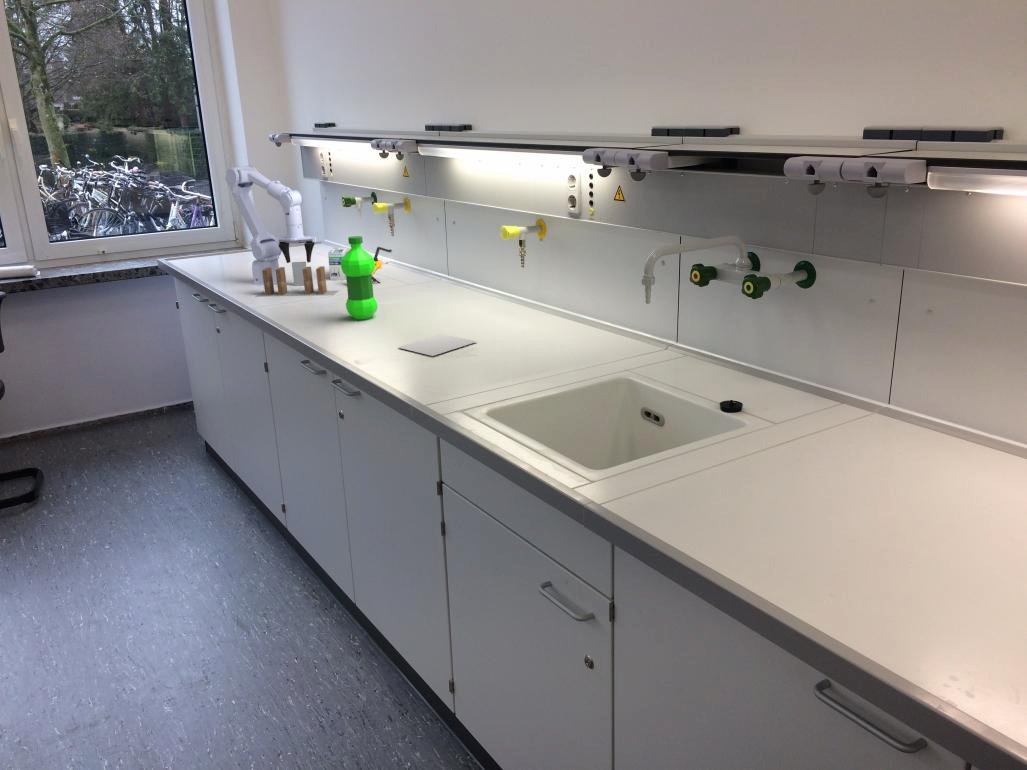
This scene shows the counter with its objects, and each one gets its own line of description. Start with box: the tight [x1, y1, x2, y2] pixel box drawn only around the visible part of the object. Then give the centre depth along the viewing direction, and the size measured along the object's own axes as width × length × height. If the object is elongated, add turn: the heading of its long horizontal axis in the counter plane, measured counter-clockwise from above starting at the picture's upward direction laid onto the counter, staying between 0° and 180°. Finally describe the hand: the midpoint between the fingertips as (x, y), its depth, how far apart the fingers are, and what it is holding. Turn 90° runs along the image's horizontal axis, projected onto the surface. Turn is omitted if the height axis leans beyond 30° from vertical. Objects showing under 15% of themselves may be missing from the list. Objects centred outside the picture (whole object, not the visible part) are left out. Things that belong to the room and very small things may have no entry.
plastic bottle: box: [341, 235, 378, 321], centre depth 258 cm, size 10×10×25 cm
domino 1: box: [262, 268, 275, 297], centre depth 297 cm, size 2×5×9 cm, turn 176°
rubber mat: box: [255, 290, 340, 298], centre depth 298 cm, size 28×8×1 cm, turn 86°
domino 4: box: [315, 265, 328, 296], centre depth 296 cm, size 2×5×9 cm, turn 176°
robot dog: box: [345, 246, 393, 284], centre depth 309 cm, size 6×18×13 cm, turn 120°
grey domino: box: [291, 261, 307, 287], centre depth 310 cm, size 2×5×9 cm, turn 86°
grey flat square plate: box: [397, 333, 478, 357], centre depth 223 cm, size 23×25×1 cm
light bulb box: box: [327, 247, 350, 281], centre depth 324 cm, size 11×7×11 cm, turn 2°
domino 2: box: [276, 266, 288, 295], centre depth 297 cm, size 2×5×9 cm, turn 176°
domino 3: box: [302, 266, 315, 295], centre depth 296 cm, size 2×5×9 cm, turn 176°
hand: (298, 262), depth 308 cm, fingers open, 7 cm apart
